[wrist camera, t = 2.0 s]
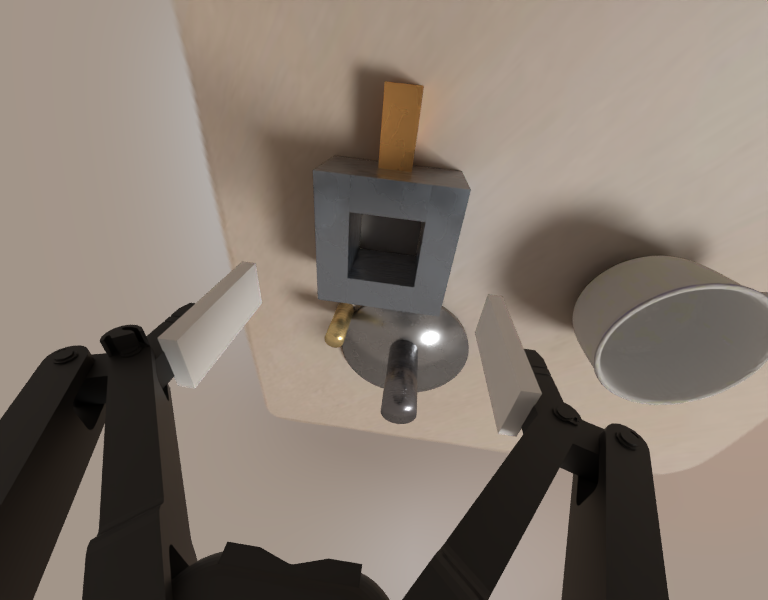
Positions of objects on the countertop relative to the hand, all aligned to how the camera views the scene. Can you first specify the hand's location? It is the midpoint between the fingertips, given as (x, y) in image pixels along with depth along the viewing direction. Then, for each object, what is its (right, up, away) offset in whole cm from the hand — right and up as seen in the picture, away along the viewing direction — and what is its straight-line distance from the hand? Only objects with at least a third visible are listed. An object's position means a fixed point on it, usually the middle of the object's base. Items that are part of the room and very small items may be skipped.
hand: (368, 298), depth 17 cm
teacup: (+24, +1, +10) cm, 26 cm away
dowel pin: (-3, -1, +15) cm, 15 cm away
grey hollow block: (+2, +8, +8) cm, 11 cm away
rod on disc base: (+3, -5, +17) cm, 18 cm away
